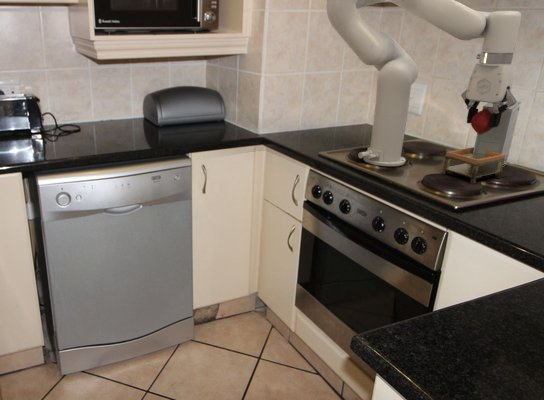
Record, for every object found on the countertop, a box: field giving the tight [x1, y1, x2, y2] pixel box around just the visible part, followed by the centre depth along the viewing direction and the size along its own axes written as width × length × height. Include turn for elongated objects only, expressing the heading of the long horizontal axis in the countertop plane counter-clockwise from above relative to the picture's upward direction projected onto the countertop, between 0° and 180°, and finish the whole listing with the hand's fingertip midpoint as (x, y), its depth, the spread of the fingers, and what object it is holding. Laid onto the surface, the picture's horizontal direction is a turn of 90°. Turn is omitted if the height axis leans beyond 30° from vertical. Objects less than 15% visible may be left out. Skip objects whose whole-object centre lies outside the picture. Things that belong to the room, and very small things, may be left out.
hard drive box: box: [473, 100, 522, 176], centre depth 146 cm, size 16×8×20 cm, turn 139°
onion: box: [470, 106, 492, 135], centre depth 136 cm, size 6×6×8 cm
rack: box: [441, 146, 506, 185], centre depth 141 cm, size 12×10×7 cm
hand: (482, 124), depth 136 cm, fingers closed on onion, 5 cm apart
